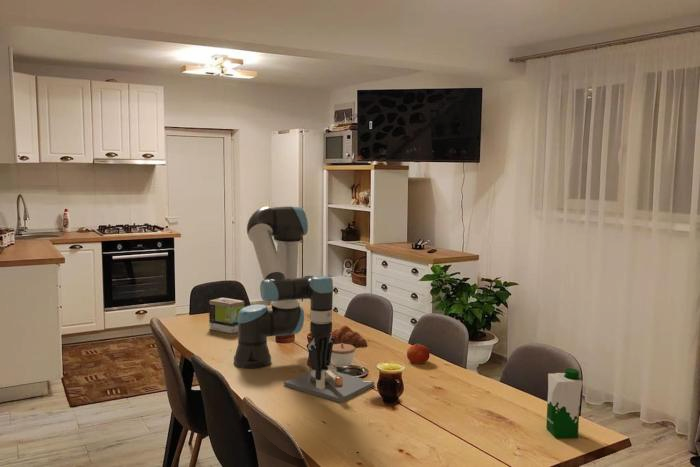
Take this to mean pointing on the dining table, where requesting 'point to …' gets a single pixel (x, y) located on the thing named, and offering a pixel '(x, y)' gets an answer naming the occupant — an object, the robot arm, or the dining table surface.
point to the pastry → (348, 337)
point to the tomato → (418, 353)
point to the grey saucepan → (329, 377)
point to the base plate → (331, 387)
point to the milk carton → (564, 403)
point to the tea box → (224, 314)
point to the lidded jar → (342, 354)
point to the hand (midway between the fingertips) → (320, 387)
